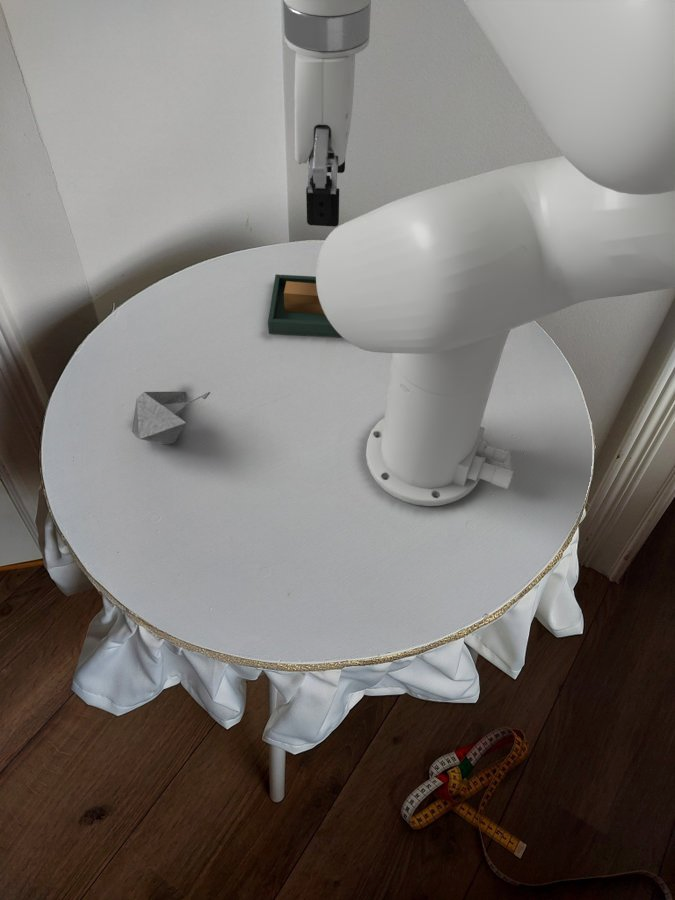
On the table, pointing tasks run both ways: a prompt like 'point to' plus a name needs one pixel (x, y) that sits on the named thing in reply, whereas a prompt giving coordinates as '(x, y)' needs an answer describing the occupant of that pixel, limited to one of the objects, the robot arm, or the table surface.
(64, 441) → the table surface
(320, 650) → the table surface
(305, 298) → the fork
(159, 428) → the grey angular piece
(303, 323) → the tray
